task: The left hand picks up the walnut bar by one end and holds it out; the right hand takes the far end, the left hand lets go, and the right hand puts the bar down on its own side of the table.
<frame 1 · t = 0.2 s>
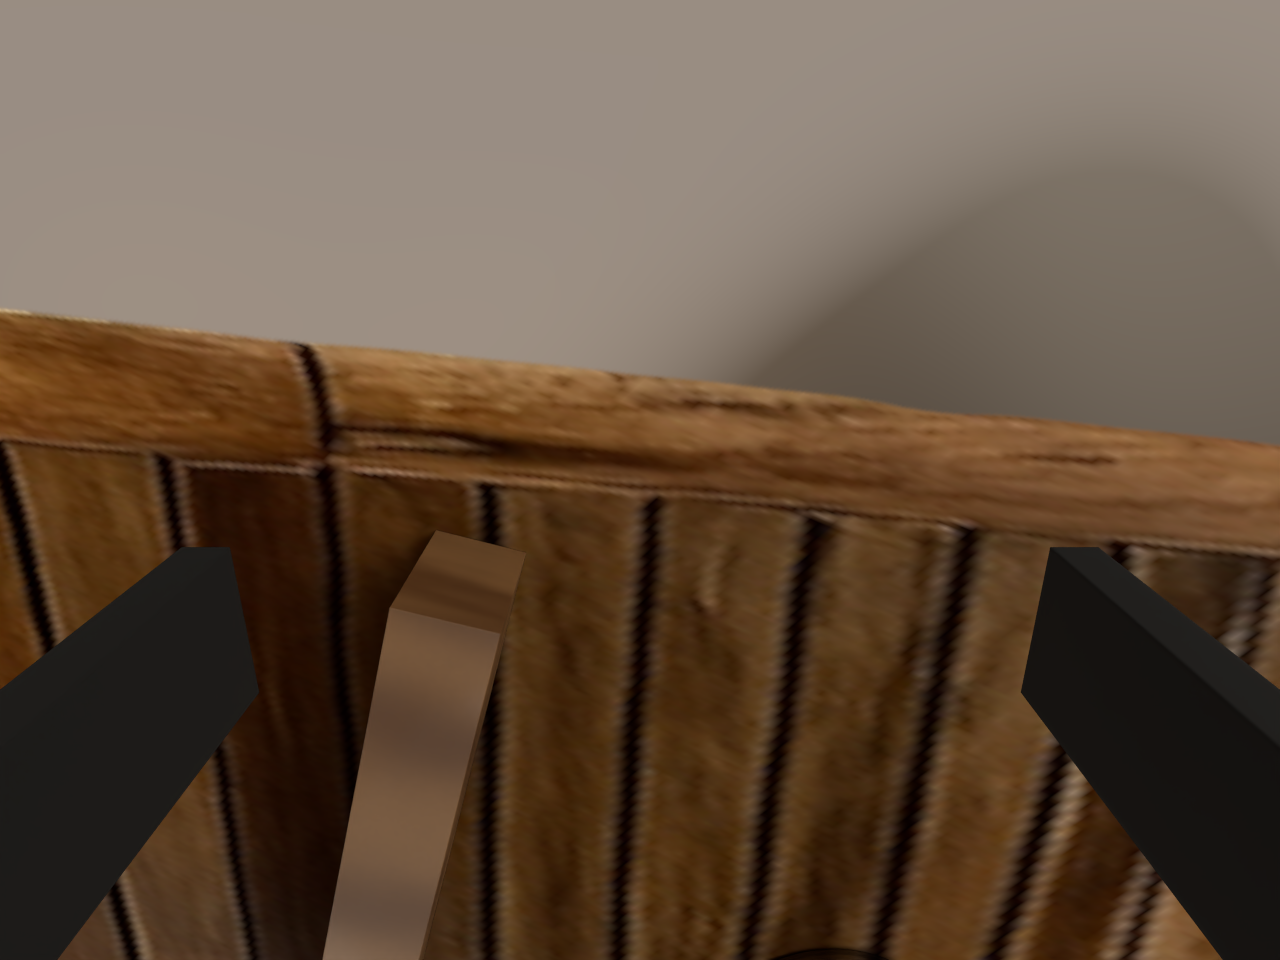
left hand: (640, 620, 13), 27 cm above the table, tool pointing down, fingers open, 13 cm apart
bar: (424, 788, 48), on the table
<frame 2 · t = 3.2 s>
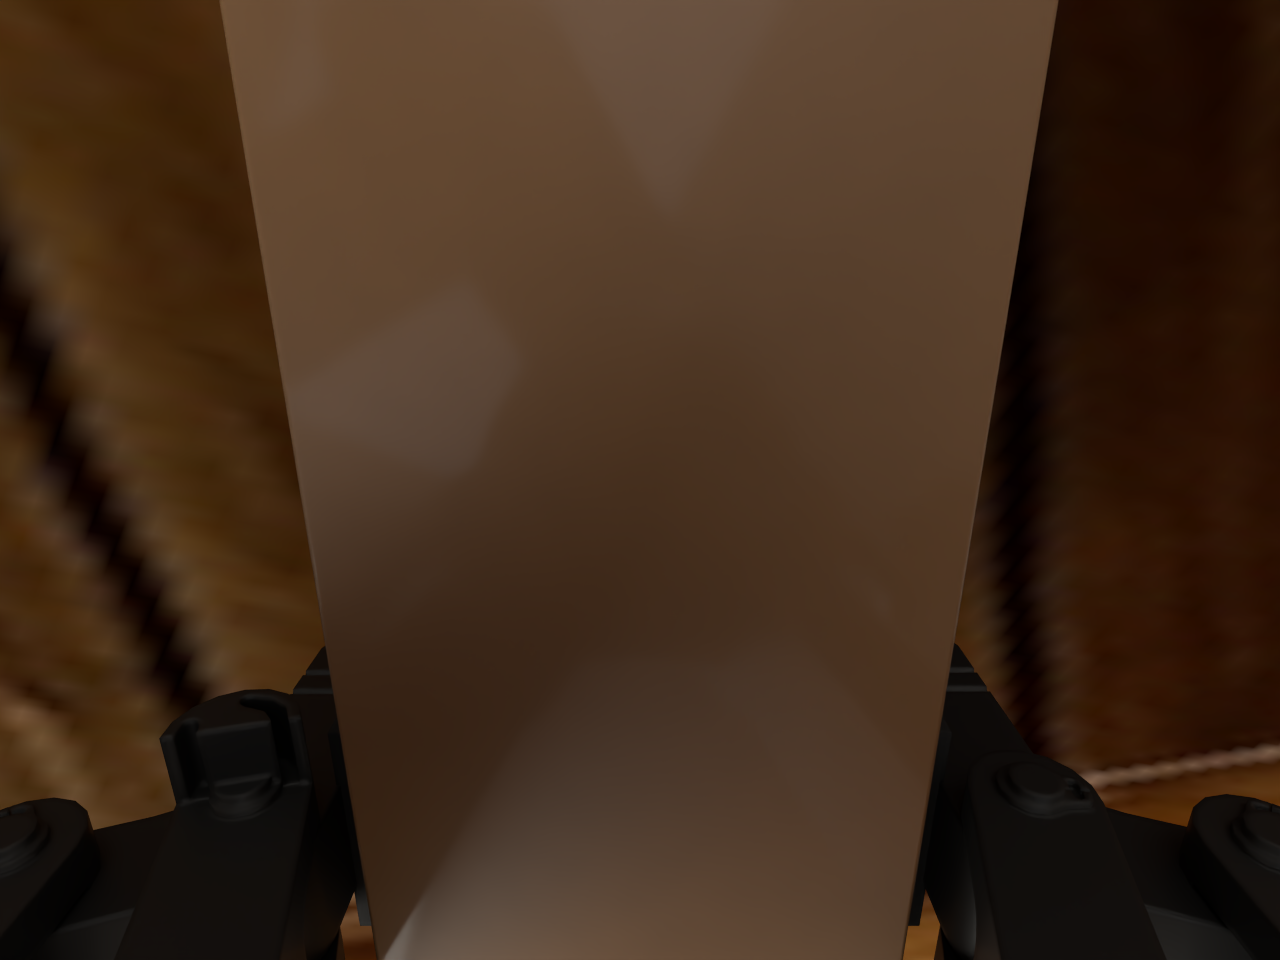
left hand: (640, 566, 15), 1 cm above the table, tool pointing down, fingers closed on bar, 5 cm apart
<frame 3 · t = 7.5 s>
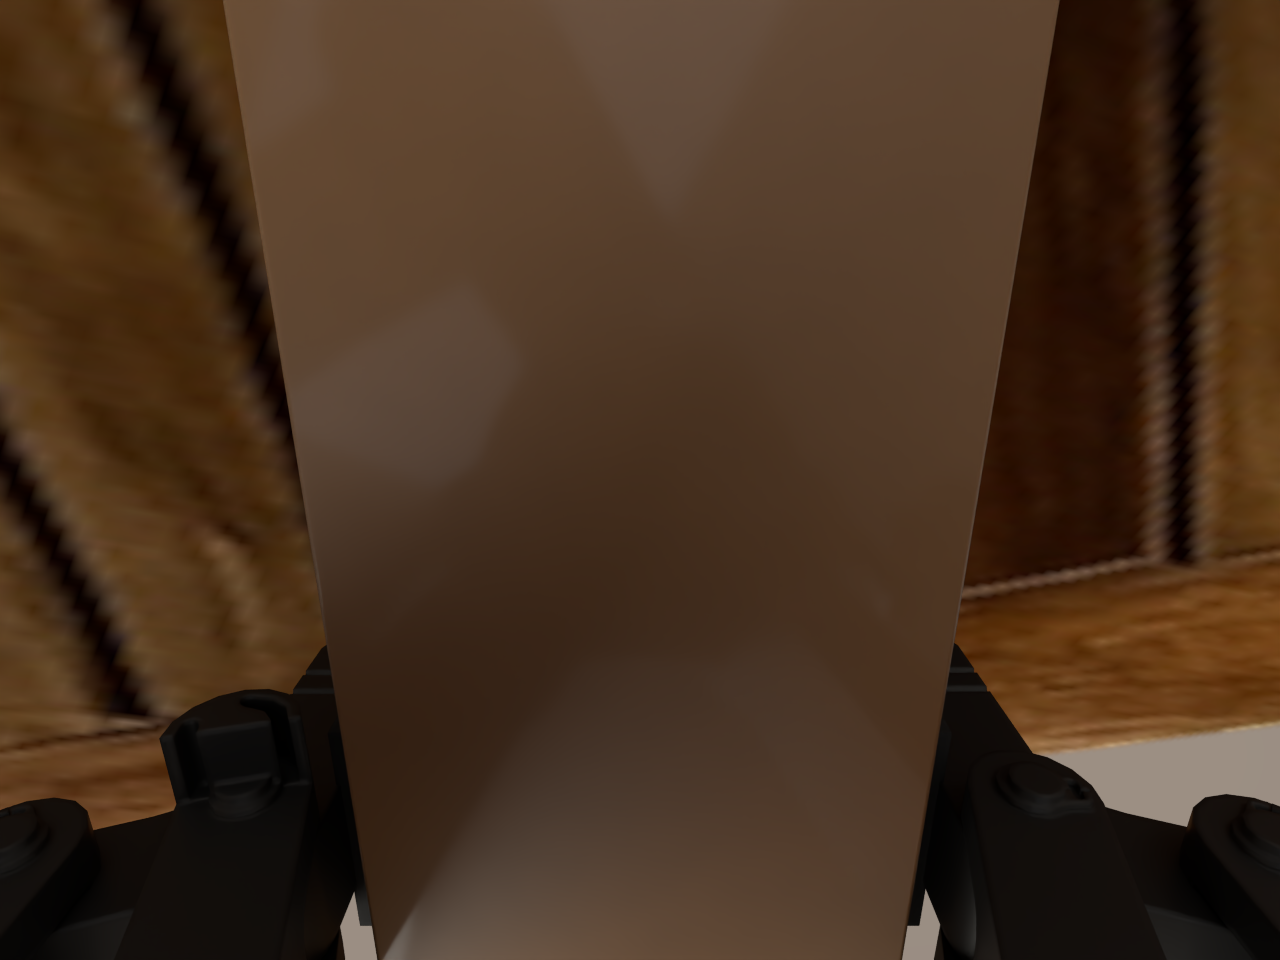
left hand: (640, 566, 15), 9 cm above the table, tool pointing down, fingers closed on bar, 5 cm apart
when the left hand's fingers open (9 cm above the table, at t = 8.3 s): bar stays where it is, held by the right hand.
when the right hand's fingers open (2 cm above the table, at t = 14.9 s): bar stays where it is, on the table.
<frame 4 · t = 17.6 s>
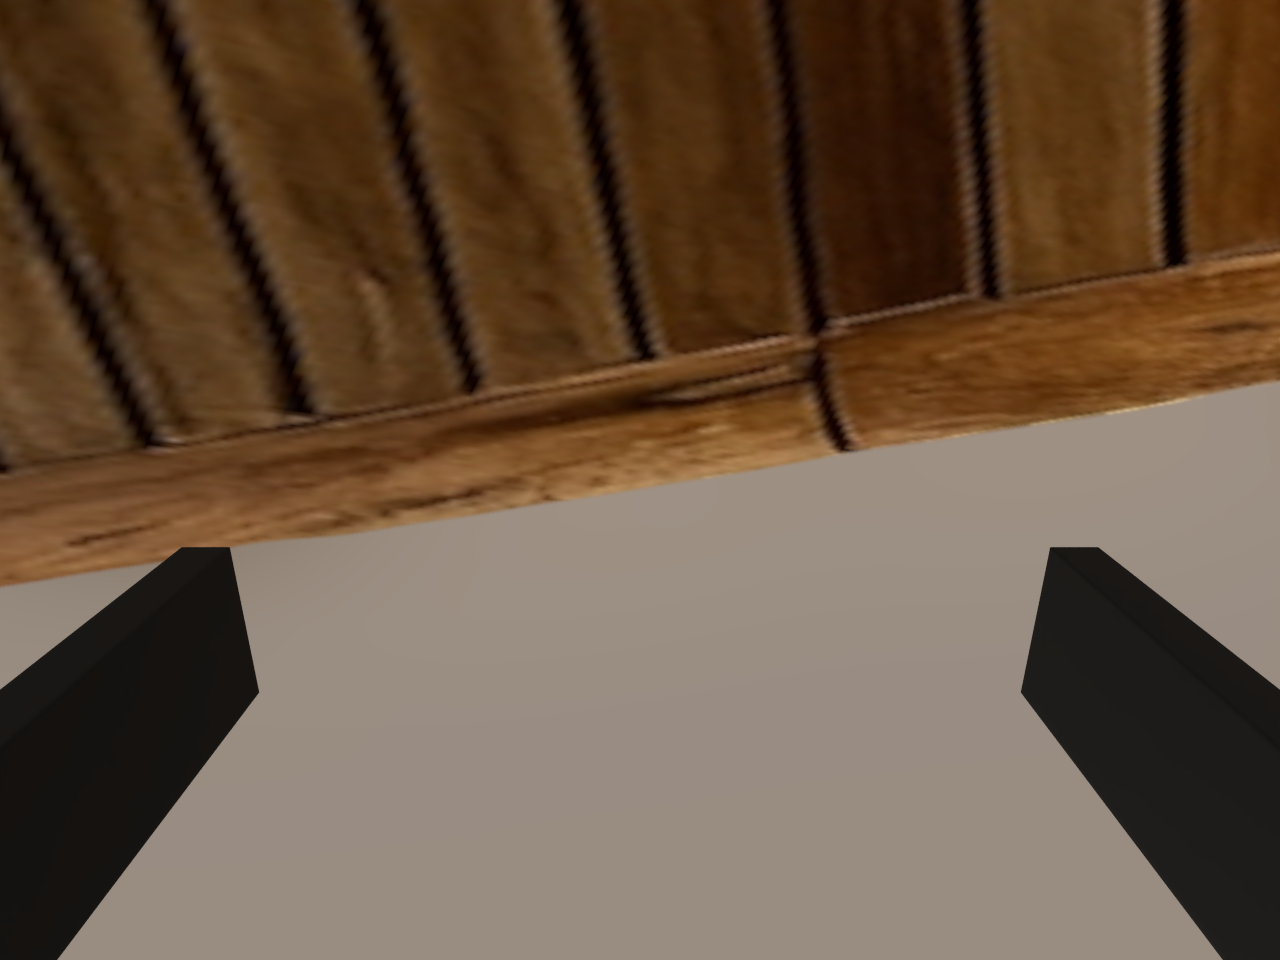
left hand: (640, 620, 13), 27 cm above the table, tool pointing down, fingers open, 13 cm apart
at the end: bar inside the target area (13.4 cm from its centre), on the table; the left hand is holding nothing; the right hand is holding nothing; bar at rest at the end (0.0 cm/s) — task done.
